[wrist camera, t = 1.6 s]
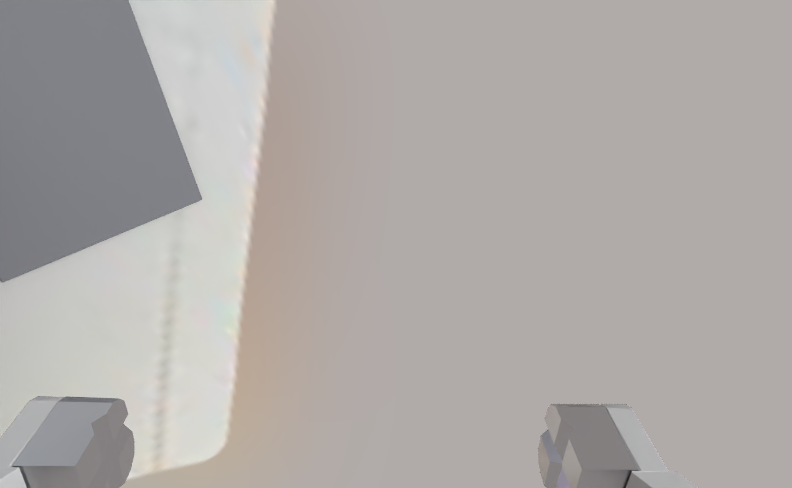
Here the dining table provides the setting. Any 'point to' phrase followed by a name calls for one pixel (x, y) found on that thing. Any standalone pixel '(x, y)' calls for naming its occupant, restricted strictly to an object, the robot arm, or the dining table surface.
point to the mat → (80, 131)
